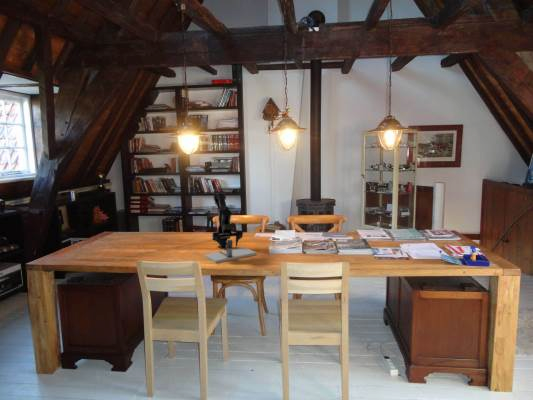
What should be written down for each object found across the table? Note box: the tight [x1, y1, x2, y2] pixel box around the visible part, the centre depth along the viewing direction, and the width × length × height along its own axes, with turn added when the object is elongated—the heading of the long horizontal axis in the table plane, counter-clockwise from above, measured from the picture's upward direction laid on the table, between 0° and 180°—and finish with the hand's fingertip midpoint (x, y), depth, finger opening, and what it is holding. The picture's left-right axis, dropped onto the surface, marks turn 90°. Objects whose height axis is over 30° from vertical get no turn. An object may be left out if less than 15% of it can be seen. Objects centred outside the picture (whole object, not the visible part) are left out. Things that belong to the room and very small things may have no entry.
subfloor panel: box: [203, 246, 258, 264], centre depth 248 cm, size 16×29×2 cm, turn 123°
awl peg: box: [225, 239, 233, 257], centre depth 240 cm, size 4×4×10 cm
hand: (229, 246), depth 239 cm, fingers open, 9 cm apart
